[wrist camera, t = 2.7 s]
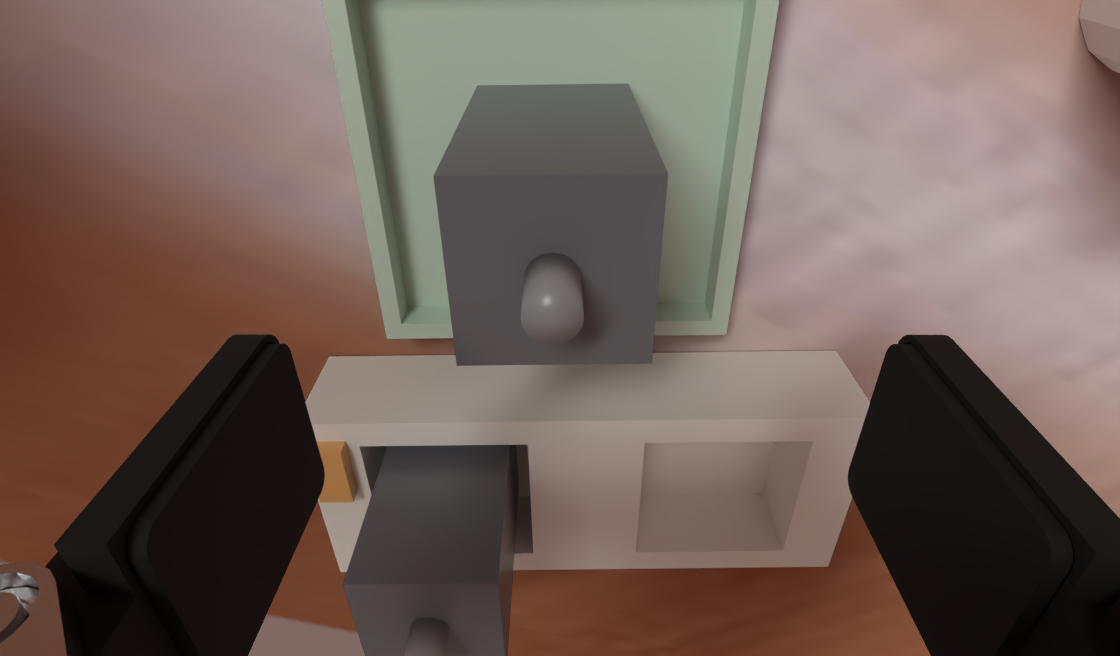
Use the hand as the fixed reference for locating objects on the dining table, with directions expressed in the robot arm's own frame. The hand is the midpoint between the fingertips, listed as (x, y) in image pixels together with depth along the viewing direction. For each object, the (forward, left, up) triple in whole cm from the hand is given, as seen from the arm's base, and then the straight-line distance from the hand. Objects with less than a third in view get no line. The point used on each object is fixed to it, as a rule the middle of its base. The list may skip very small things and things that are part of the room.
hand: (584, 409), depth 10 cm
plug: (0, -1, -12) cm, 12 cm away
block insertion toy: (+12, 0, -13) cm, 17 cm away
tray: (0, -1, -13) cm, 13 cm away
